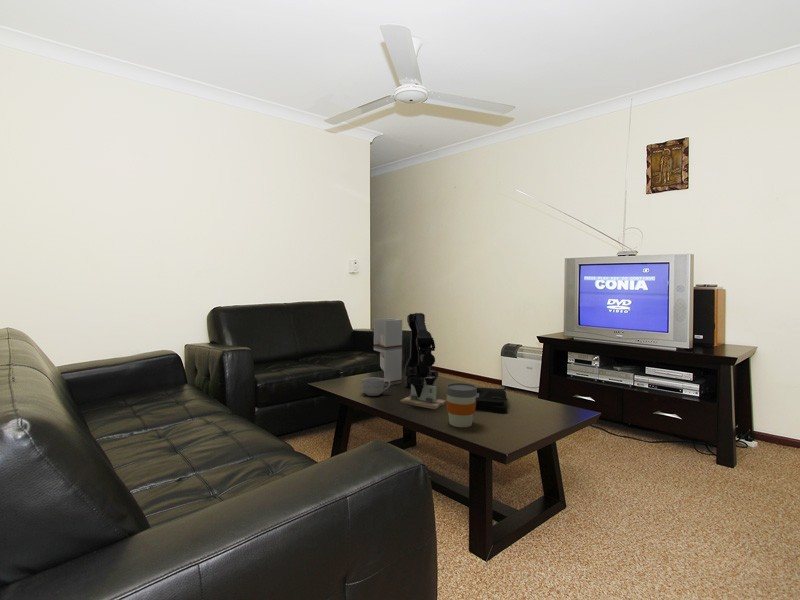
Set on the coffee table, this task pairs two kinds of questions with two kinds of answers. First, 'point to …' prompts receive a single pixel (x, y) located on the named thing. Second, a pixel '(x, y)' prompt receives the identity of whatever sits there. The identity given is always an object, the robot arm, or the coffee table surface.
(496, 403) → the gaming console
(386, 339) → the white stacked tower
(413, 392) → the door slab
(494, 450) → the coffee table surface
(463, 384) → the reusable coffee cup
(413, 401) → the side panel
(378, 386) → the teacup
